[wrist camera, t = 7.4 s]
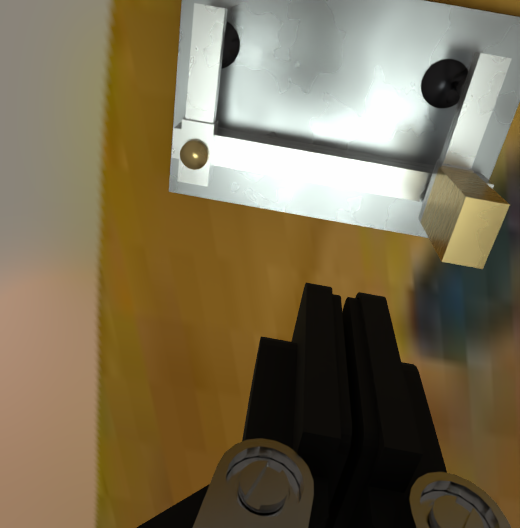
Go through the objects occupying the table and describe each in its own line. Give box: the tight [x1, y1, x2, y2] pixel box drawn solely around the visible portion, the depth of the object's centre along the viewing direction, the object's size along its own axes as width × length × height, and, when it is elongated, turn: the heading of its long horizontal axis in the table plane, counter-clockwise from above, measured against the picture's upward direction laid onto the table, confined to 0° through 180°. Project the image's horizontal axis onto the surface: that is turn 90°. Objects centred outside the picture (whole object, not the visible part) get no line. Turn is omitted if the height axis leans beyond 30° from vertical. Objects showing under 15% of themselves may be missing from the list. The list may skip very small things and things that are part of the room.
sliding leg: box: [418, 52, 512, 269], centre depth 22 cm, size 8×2×8 cm, turn 171°
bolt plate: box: [169, 0, 520, 238], centre depth 25 cm, size 12×18×5 cm, turn 81°
